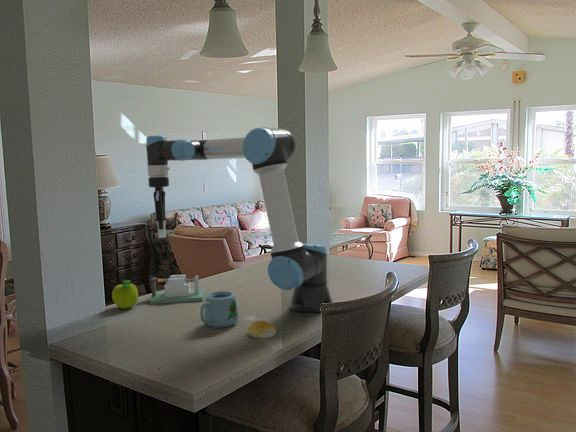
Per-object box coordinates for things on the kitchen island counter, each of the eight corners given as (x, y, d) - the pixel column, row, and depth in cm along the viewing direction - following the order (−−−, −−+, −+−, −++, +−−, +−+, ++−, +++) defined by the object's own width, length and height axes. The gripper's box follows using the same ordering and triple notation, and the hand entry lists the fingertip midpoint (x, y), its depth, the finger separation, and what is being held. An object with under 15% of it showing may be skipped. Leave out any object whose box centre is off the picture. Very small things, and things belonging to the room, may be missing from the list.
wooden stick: (198, 281, 205) (198, 278, 205) (197, 282, 203) (197, 279, 203) (158, 281, 204) (158, 278, 204) (157, 282, 202) (157, 279, 202)
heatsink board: (204, 292, 212) (203, 272, 211) (202, 301, 199) (201, 279, 198) (155, 294, 210) (153, 274, 209) (149, 303, 197) (148, 282, 196)
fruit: (140, 303, 198) (138, 277, 197) (137, 310, 189) (135, 283, 188) (115, 305, 197) (113, 279, 195) (111, 312, 187) (109, 285, 186)
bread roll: (266, 328, 166) (265, 315, 166) (280, 335, 159) (280, 323, 158) (243, 333, 162) (242, 320, 162) (256, 341, 154) (256, 328, 154)
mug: (214, 335, 160) (212, 304, 159) (189, 329, 166) (187, 299, 165) (245, 322, 172) (244, 292, 171) (220, 316, 178) (219, 288, 177)
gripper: (166, 176, 192) (169, 239, 195) (170, 175, 205) (173, 234, 208) (145, 177, 191) (149, 240, 194) (151, 176, 204) (154, 235, 207)
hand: (162, 237), depth 201 cm, fingers closed
